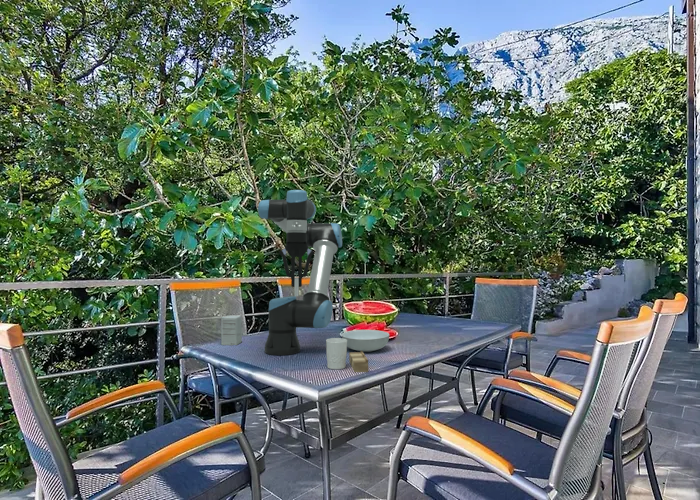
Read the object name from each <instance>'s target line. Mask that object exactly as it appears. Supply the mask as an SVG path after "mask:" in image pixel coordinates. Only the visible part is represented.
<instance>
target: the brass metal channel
mask: <svg viewBox="0 0 700 500" xmlns="http://www.w3.org/2000/svg"><path fill="white" fill-rule="evenodd" d="M348 353H349V355H348V356H349V357H348V358H349V359H348V361H349V364H350V367H351V368H352V370H353V372H354V373H368V372H369V359H368V357H367V356H366V355H365V352H363V351H357V352H356V351H354V352H353V351H351V352H348Z"/></svg>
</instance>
